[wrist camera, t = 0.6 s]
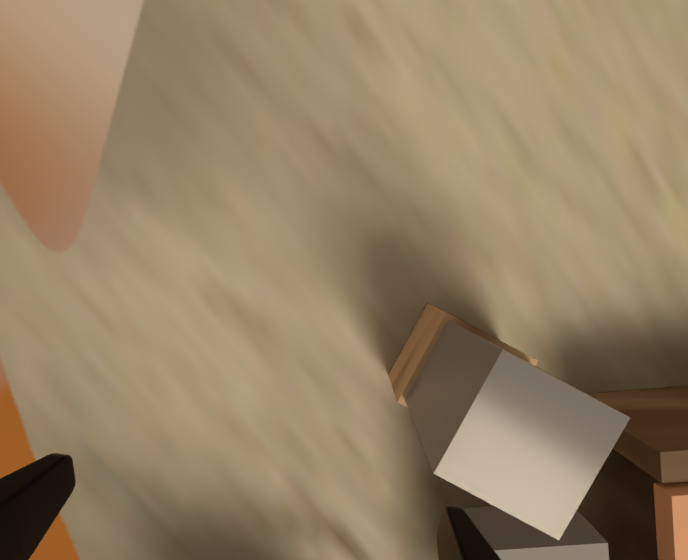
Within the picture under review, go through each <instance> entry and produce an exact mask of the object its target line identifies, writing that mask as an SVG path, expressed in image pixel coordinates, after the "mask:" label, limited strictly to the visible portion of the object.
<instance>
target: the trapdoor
mask: <svg viewBox="0 0 688 560" xmlns="http://www.w3.org/2000/svg"><path fill="white" fill-rule="evenodd" d="M654 500H655V517H656V534H657V550H658V560H688V481H687V482H673V483H654ZM462 509H463V510H464V511H465V512H466V513H467V514H468V516H469V517H470V518H471V520H472V521H473V523H474V524H475V525H476V527H477V528H478V529H479V531H480V532H481V533H482V535H483V536H484V537H485V539H486V540H487V541H488V543H489V544H490V545H491V547H492V548H493V549H494V551H495V552H496V553H497V555H498V556H499V557H500V559H501V560H609V551H608V542H607V541H606V540H605V539H604V538H603V537H602V536H601V535H600V534H599V533H598V531H597V530H596V529H595V528H594V527H593V526H592V525H591V524H590V523H589V522H588V521H587V520H586V518H585V517H584V516H583V515H582V514H581V513H580V512H579V511H578V510H577V511H576V512H575V514H574V516H573V517H572V519H571V521H570V523H569V524H568V526H567V528H566V529H565V531H564V533H563V535H562V536H561V538H560V540H557V539H555V538H553V537H552V536H550V535H548V534H546V533H544V532H542V531H540V530H538V529H537V528H535V527H533V526H531V525H529V524H527V523H525V522H523V521H521V520H520V519H518V518H516V517H514V516H512V515H510V514H508V513H506V512H505V511H503V510H501V509H499V508H497V507H495V506H488V507H473V508H462Z"/></svg>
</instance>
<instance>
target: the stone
mask: <svg viewBox="0 0 688 560" xmlns="http://www.w3.org/2000/svg"><path fill="white" fill-rule="evenodd" d="M405 402H406V404H407V407H408V409H409V412H410V415H411V417H412V420H413V422H414V425H415V427H416V430H417V432H418V435H419V438H420V440H421V443H422V445H423V448H424V450H425V453H426V456H427V458H428V461H429V463H430V466H431V468H432V471H433V473H434V474H435V475H437V476H439V477H441V478H443V479H444V480H446V481H448V482H450V483H452V484H454V485H456V486H458V487H460V488H461V489H463V490H465V491H467V492H469V493H471V494H473V495H475V496H476V497H478V498H480V499H482V500H484V501H486V502H488V503H490V504H491V505H493V506H495V507H497V508H499V509H501V510H503V511H505V512H506V513H508V514H510V515H512V516H514V517H516V518H518V519H520V520H521V521H523V522H525V523H527V524H529V525H531V526H533V527H535V528H537V529H538V530H540V531H542V532H544V533H546V534H548V535H550V536H552V537H553V538H555V539H557V540H560V538H561V536H562V535H563V533H564V531H565V529H566V528H567V526H568V524H569V523H570V521H571V519H572V517H573V516H574V514H575V512H576V511H577V509H578V507H579V505H580V504H581V502H582V500H583V498H584V497H585V495H586V493H587V492H588V490H589V488H590V486H591V485H592V483H593V481H594V480H595V478H596V476H597V474H598V473H599V471H600V469H601V468H602V466H603V464H604V462H605V461H606V459H607V457H608V456H609V454H610V452H611V450H612V449H613V447H614V445H615V443H616V442H617V440H618V438H619V437H620V435H621V433H622V431H623V430H624V428H625V426H626V425H627V423H628V421H629V419H630V417H628V416H627V415H625V414H623V413H621V412H619V411H617V410H615V409H614V408H612V407H610V406H608V405H606V404H604V403H603V402H601V401H599V400H597V399H595V398H593V397H592V396H590V395H588V394H586V393H584V392H582V391H581V390H579V389H577V388H575V387H573V386H571V385H570V384H568V383H566V382H564V381H562V380H560V379H559V378H557V377H555V376H553V375H551V374H549V373H548V372H546V371H544V370H542V369H540V368H538V367H537V366H535V365H533V364H531V363H529V362H527V361H525V360H523V359H522V358H520V357H518V356H516V355H514V354H512V353H510V352H508V351H507V350H505V349H503V348H501V347H499V346H497V345H495V344H493V343H491V342H490V341H488V340H486V339H484V338H482V337H480V336H478V335H476V334H474V333H473V332H471V331H469V330H467V329H465V328H463V327H461V326H459V325H458V324H456V323H454V322H452V321H450V320H449V321H448V322H447V324H446V326H445V328H444V330H443V332H442V333H441V335H440V337H439V339H438V341H437V343H436V344H435V346H434V348H433V350H432V352H431V353H430V355H429V357H428V359H427V361H426V363H425V364H424V366H423V368H422V370H421V372H420V374H419V375H418V377H417V379H416V381H415V383H414V384H413V386H412V388H411V390H410V392H409V394H408V395H407V397H406V399H405Z"/></svg>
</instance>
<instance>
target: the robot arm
mask: <svg viewBox="0 0 688 560" xmlns="http://www.w3.org/2000/svg"><path fill="white" fill-rule="evenodd" d="M74 486H75V474H74V467H73V460H72V458H71V456H69V455H65V454H57V453H53V454H49V455H47V456H45V457H43V458H41V459H39V460H37V461H35V462H33V463H31V464H29V465H27V466H25V467H23V468H21V469H19V470H17V471H15V472H13V473H11V474H9V475H7V476H5V477H3V478H1V479H0V560H28V559H29V558H30V557H31V555H32V554H33V552H34V551H35V549H36V548H37V546H38V544H39V543H40V541H41V540H42V538H43V537H44V535H45V534H46V532H47V530H48V529H49V527H50V526H51V524H52V523H53V521H54V520H55V518H56V517H57V515H58V513H59V512H60V510H61V509H62V507H63V506H64V504H65V503H66V501H67V499H68V498H69V496H70V495H71V493H72V491H73V489H74ZM437 544H438V554H439V560H501V559H500V557H499V556H498V555H497V553H496V552H495V551H494V549H493V548H492V547H491V545H490V544H489V543H488V541H487V540H486V539H485V537H484V536H483V535H482V533H481V532H480V531H479V529H478V528H477V527H476V525H475V524H474V523H473V521H472V520H471V518H470V517H469V516H468V514H467V513H466V512H465V511H464V510H463V509H462V508H461V507H455V506H445V507H444V508H443V511H442V515H441V519H440V523H439V527H438V532H437Z"/></svg>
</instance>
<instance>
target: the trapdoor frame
mask: <svg viewBox="0 0 688 560" xmlns="http://www.w3.org/2000/svg"><path fill="white" fill-rule="evenodd" d="M588 395H590V396H592V397H593V398H595V399H597V400H599V401H601V402H603V403H604V404H606V405H608V406H610V407H612V408H614V409H615V410H617V411H619V412H621V413H623V414H625V415H627V416H628V417H630V419H629V421H628V423H627V425H626V426H625V428H624V430H623V431H622V433H621V435H620V437H619V438H618V440H617V442H616V443H615V445H614V447H613V449H614V450H615V451H617V452H618V453H619V454H621V455H622V456H624V457H625V458H627V459H628V460H629V461H631V462H632V463H634V464H635V465H637V466H638V467H639V468H641V469H642V470H644V471H645V472H647V473H648V474H649V475H651V476H652V477H654V478H655V479H657V480H658V481H659V482H661V483H673V482H687V481H688V386H680V387H667V388H654V389H642V390H629V391H616V392H603V393H590V394H588Z"/></svg>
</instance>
